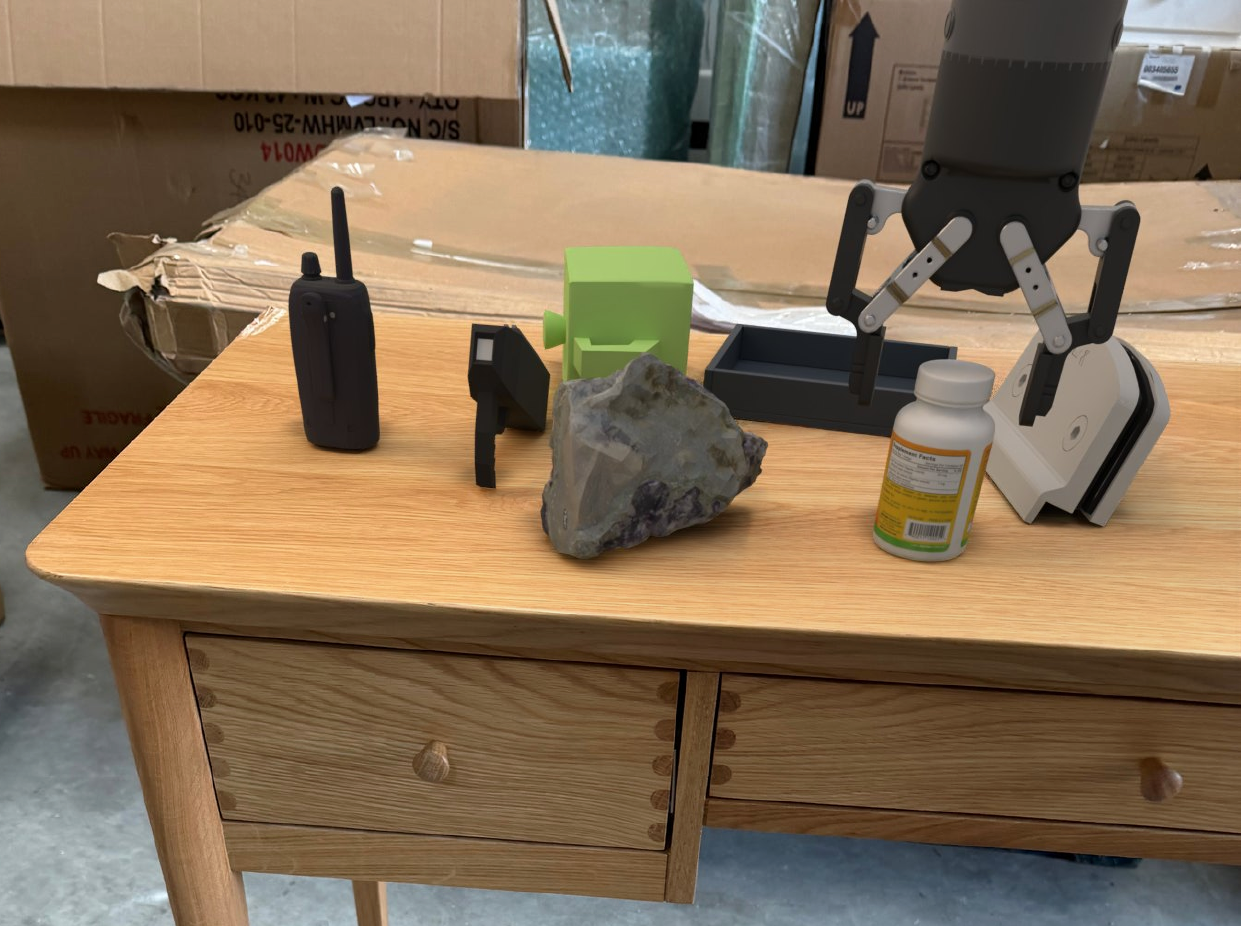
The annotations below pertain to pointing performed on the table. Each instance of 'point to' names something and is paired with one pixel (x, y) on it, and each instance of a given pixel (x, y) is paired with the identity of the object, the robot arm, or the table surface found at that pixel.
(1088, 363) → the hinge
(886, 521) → the supplement bottle
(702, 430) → the mineral rock
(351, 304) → the two-way radio
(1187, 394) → the table surface
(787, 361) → the tray
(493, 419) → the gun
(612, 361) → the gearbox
